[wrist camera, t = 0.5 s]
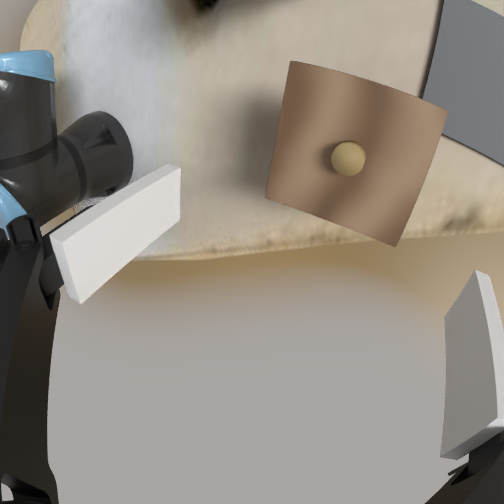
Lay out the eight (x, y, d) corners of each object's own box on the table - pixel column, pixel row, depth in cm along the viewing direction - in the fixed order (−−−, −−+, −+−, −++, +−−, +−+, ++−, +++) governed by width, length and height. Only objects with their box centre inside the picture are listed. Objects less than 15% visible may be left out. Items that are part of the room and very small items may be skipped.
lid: (270, 191, 28) (258, 203, 26) (295, 61, 21) (284, 60, 19) (396, 239, 25) (395, 256, 23) (445, 109, 18) (451, 113, 16)
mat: (415, 121, 28) (415, 122, 27) (445, -10, 18) (445, -11, 17) (520, 174, 24) (522, 176, 24) (555, 51, 14) (557, 51, 14)
